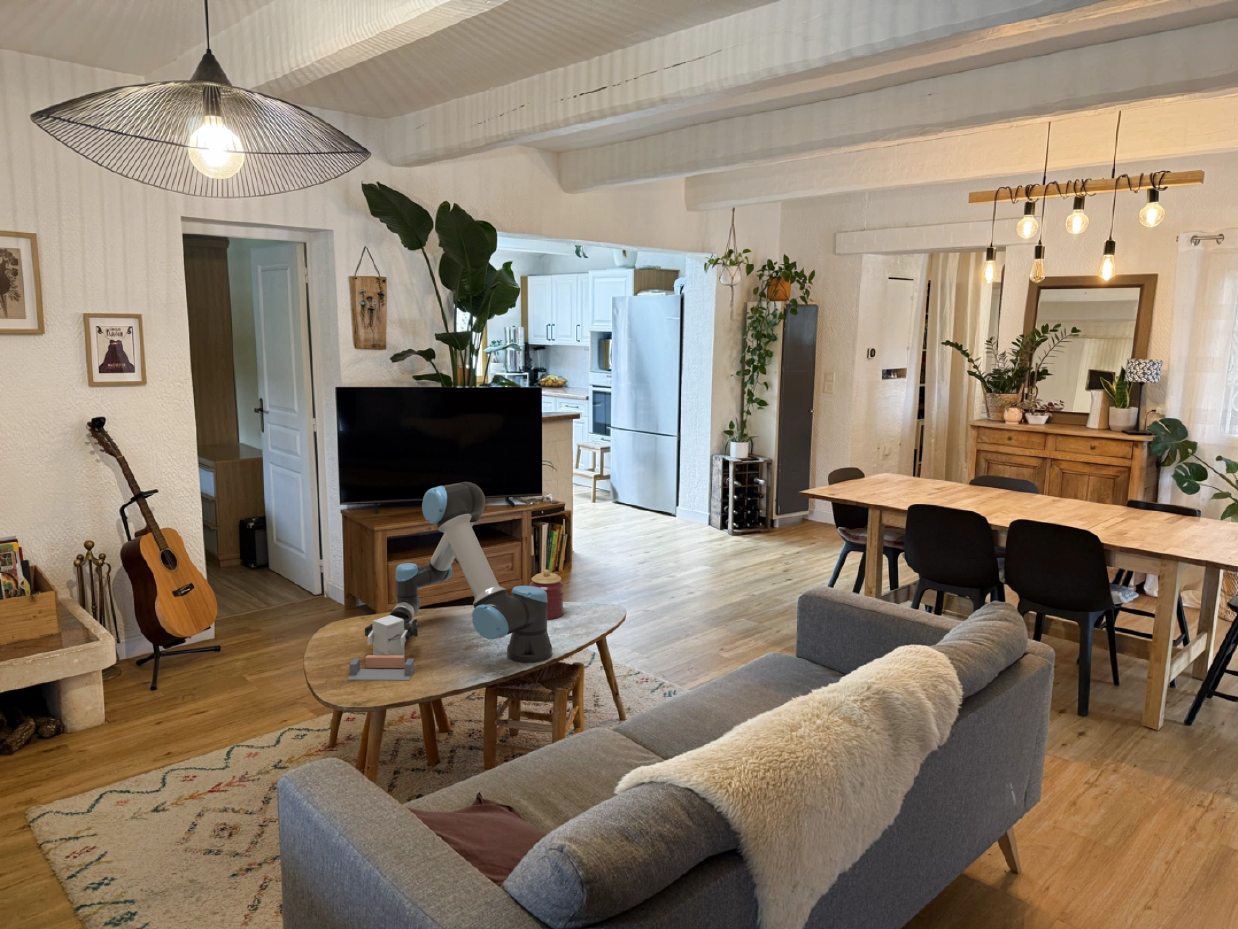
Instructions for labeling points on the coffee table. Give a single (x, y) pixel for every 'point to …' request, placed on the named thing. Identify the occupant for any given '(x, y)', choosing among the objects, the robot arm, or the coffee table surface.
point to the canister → (550, 592)
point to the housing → (381, 672)
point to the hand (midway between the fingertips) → (385, 641)
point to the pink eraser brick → (385, 661)
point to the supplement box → (388, 636)
